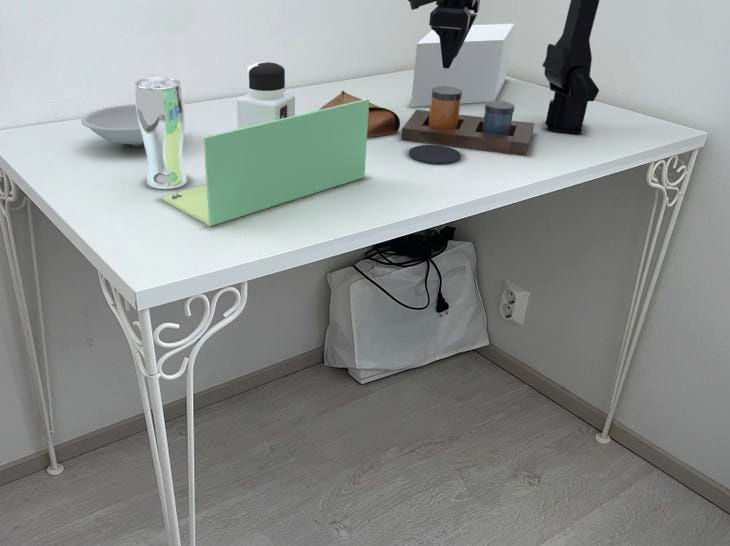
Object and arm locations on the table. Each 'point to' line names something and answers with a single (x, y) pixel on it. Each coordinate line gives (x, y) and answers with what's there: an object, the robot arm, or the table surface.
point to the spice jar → (498, 117)
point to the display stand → (278, 162)
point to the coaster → (434, 154)
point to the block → (464, 65)
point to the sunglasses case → (371, 116)
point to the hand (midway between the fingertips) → (449, 62)
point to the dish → (115, 124)
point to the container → (264, 96)
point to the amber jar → (445, 107)
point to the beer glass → (162, 130)
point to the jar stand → (468, 134)
